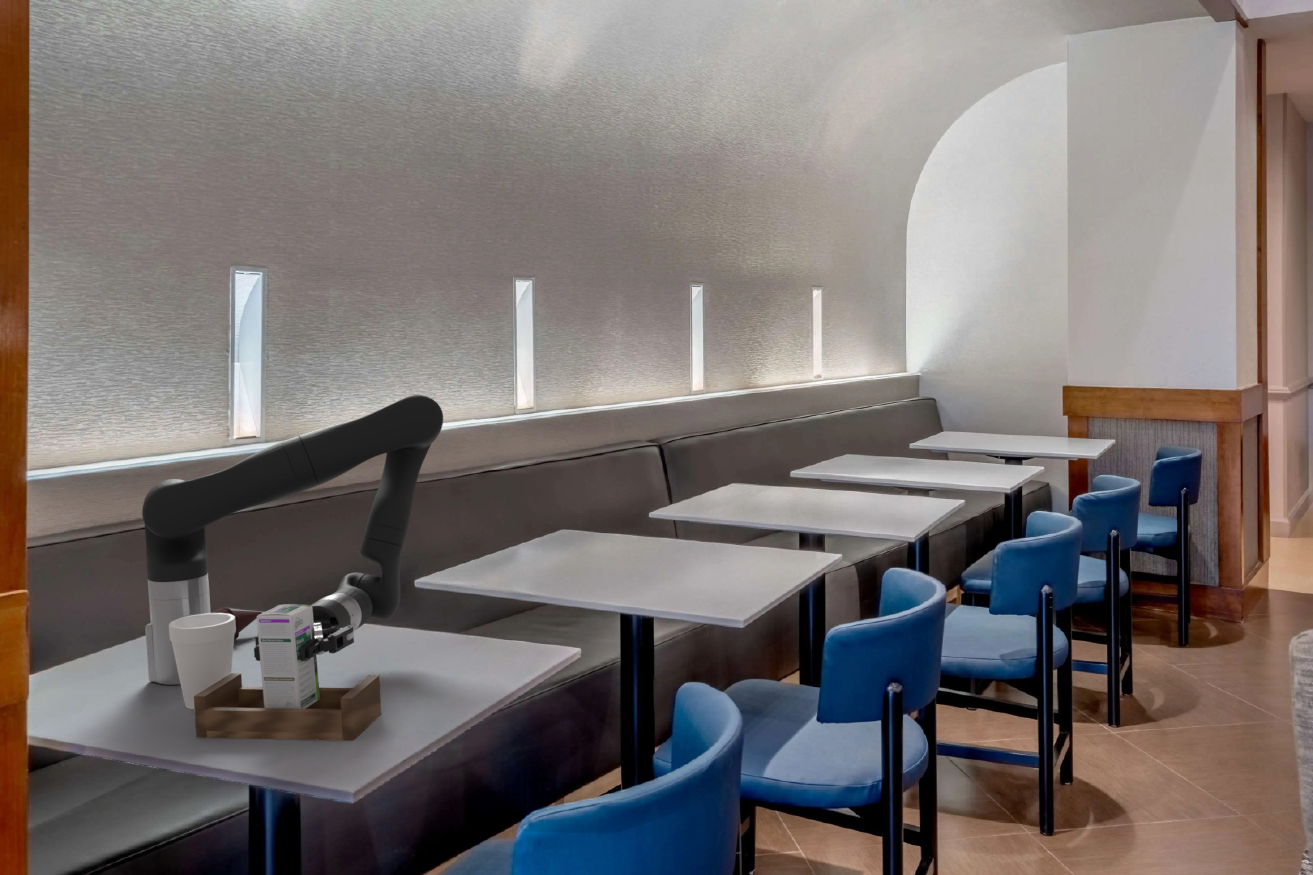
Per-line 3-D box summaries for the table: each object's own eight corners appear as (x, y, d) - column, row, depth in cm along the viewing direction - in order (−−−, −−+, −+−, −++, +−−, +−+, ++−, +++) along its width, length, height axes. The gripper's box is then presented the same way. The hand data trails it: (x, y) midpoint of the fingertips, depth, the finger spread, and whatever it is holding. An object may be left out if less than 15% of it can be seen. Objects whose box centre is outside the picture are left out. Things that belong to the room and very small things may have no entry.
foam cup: (195, 716, 160) (190, 631, 158) (162, 705, 165) (156, 623, 164) (252, 698, 167) (247, 617, 166) (218, 688, 173) (213, 610, 171)
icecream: (246, 597, 209) (173, 620, 197) (266, 592, 204) (192, 616, 192) (256, 631, 209) (184, 657, 197) (276, 627, 204) (203, 653, 192)
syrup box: (300, 714, 151) (293, 614, 150) (262, 712, 152) (255, 613, 151) (320, 700, 157) (314, 603, 155) (284, 698, 158) (277, 603, 157)
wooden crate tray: (196, 737, 151) (193, 696, 150) (233, 711, 161) (231, 673, 161) (353, 740, 148) (351, 698, 148) (381, 714, 159) (379, 675, 158)
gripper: (284, 598, 168) (230, 628, 152) (371, 598, 167) (327, 628, 150) (287, 644, 169) (234, 679, 153) (374, 645, 168) (330, 680, 151)
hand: (280, 654), depth 151 cm, fingers closed on syrup box, 6 cm apart
